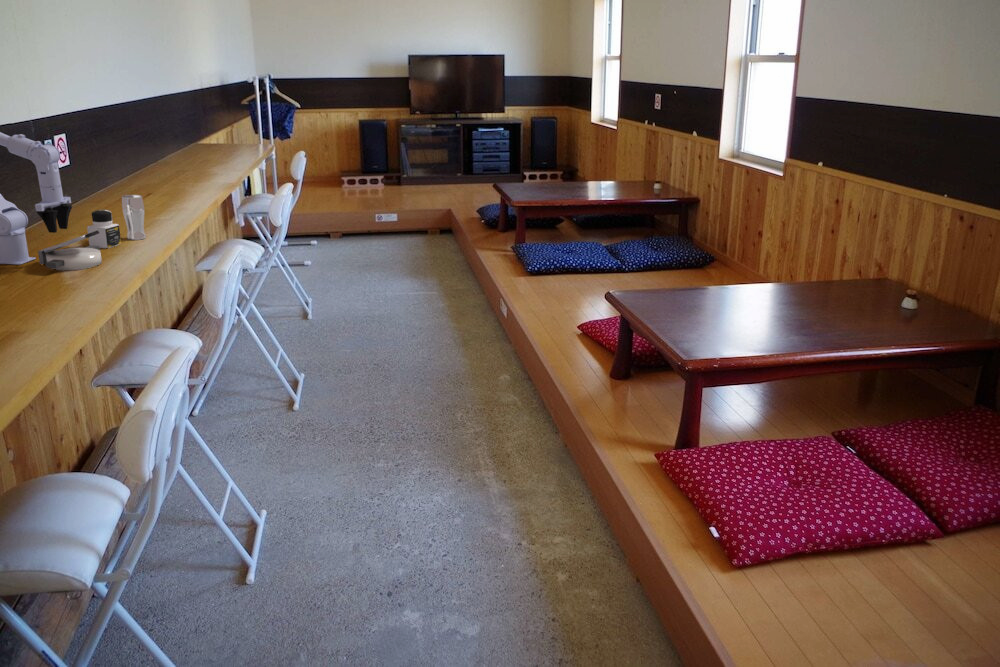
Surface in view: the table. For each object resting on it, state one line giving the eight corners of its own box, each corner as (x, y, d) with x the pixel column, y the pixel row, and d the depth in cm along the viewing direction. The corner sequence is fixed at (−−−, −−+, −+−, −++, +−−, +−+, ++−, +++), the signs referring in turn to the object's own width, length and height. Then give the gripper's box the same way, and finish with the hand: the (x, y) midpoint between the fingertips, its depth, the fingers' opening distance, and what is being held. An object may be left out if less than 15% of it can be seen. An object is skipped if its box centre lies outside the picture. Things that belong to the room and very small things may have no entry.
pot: (22, 271, 235) (19, 257, 233) (68, 253, 257) (66, 241, 255) (76, 275, 234) (74, 261, 232) (118, 257, 255) (116, 244, 254)
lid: (33, 257, 237) (31, 254, 237) (63, 246, 252) (61, 243, 251) (81, 240, 234) (79, 236, 234) (109, 230, 248) (107, 226, 248)
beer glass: (121, 238, 279) (116, 196, 274) (136, 235, 285) (132, 193, 280) (136, 241, 277) (131, 198, 272) (151, 237, 283) (147, 195, 278)
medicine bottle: (108, 248, 265) (103, 213, 261) (89, 247, 266) (84, 211, 262) (121, 244, 272) (117, 209, 268) (103, 242, 273) (98, 208, 269)
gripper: (48, 190, 230) (56, 235, 235) (77, 182, 244) (84, 226, 248) (25, 189, 231) (33, 235, 235) (55, 182, 245) (63, 225, 249)
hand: (58, 230), depth 242 cm, fingers open, 5 cm apart
